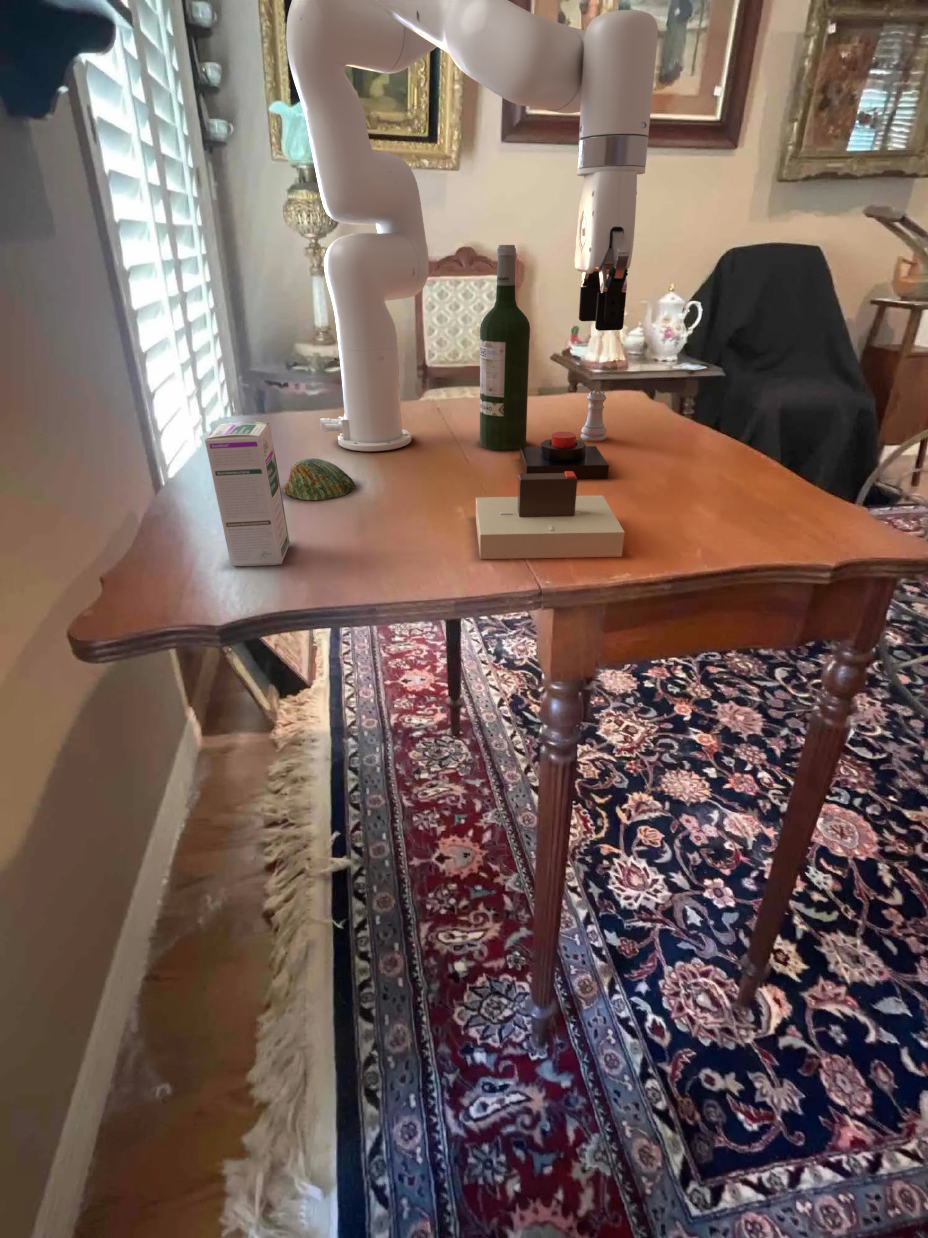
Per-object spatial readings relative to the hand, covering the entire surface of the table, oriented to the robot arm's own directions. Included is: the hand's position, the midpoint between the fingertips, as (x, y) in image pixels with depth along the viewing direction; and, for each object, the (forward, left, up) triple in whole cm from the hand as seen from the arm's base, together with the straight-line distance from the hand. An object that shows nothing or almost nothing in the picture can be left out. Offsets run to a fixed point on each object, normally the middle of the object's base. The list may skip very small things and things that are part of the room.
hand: (599, 325), depth 85 cm
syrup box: (-41, -19, -22) cm, 50 cm away
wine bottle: (-10, +25, -22) cm, 35 cm away
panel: (-8, -15, -22) cm, 27 cm away
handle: (-8, -15, -19) cm, 25 cm away
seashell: (-38, +4, -22) cm, 44 cm away
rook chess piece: (+6, +28, -22) cm, 36 cm away
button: (-2, +11, -18) cm, 21 cm away
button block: (-2, +11, -22) cm, 24 cm away
